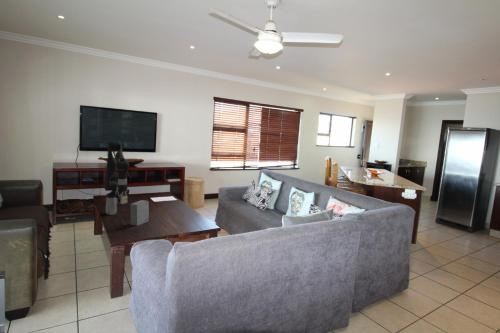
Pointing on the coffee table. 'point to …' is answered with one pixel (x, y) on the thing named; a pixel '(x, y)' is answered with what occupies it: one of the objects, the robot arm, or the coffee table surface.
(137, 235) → the coffee table surface
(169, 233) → the coffee table surface
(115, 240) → the coffee table surface
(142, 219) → the hard drive box
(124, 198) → the maple cube
